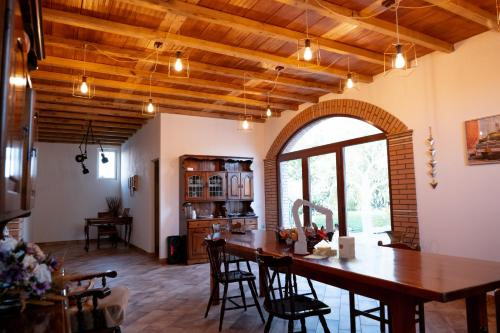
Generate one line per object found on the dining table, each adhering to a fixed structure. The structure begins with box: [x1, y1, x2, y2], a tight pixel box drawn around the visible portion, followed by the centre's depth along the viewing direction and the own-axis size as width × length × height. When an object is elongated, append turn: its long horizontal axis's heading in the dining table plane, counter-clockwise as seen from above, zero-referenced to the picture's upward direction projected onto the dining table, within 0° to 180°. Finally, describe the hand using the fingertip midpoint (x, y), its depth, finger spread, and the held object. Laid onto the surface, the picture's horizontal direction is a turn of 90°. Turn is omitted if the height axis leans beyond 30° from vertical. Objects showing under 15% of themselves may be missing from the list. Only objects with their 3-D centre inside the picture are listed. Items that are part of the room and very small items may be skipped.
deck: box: [312, 248, 338, 258], centre depth 278 cm, size 14×12×4 cm
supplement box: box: [337, 236, 356, 260], centre depth 265 cm, size 9×9×15 cm
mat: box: [303, 254, 329, 260], centre depth 268 cm, size 14×13×1 cm
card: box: [316, 245, 332, 251], centre depth 277 cm, size 9×6×2 cm, turn 46°
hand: (330, 241), depth 284 cm, fingers closed
